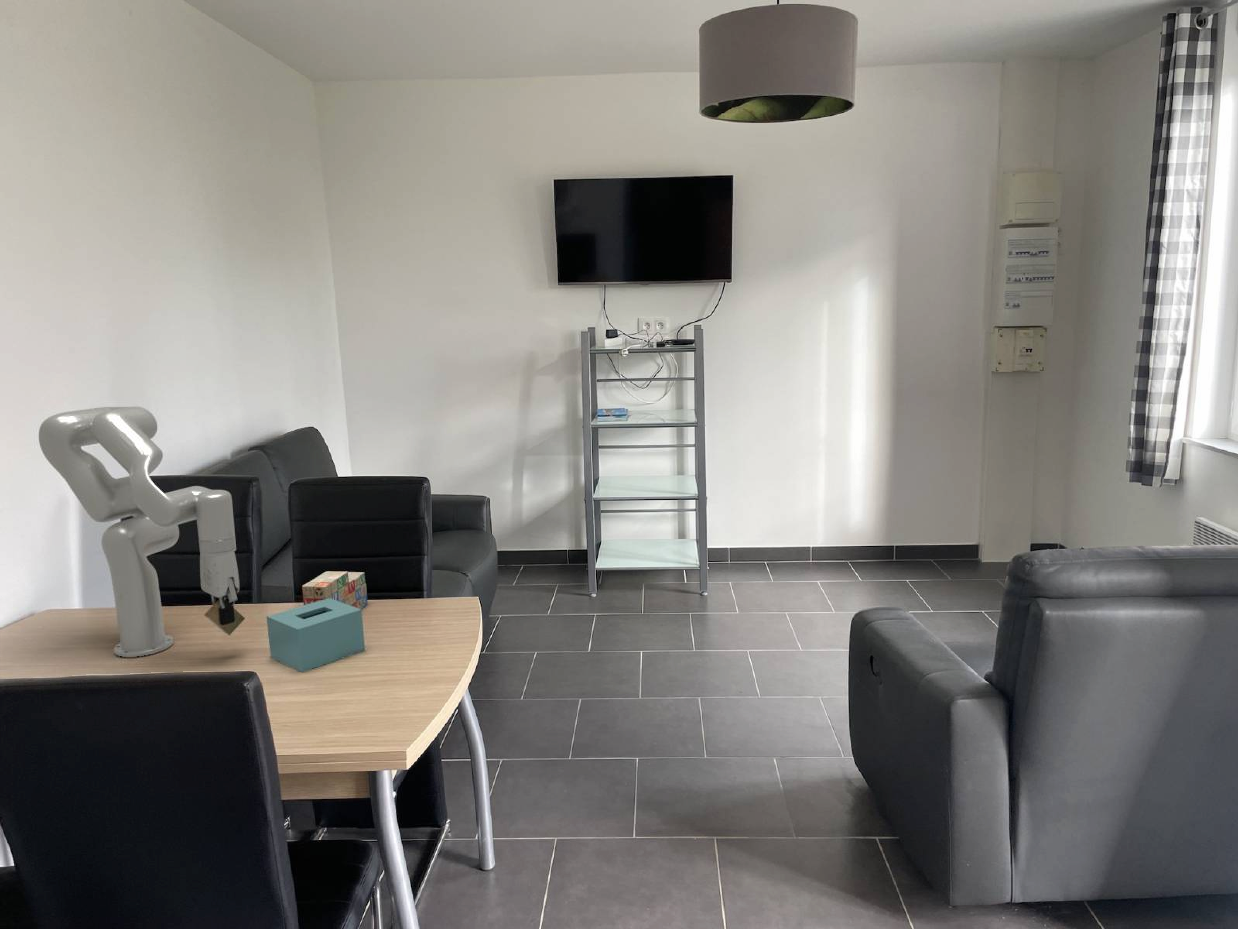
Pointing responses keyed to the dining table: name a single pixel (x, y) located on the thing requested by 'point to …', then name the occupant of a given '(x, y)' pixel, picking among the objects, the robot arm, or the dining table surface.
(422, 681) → the dining table surface
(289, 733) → the dining table surface
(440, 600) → the dining table surface
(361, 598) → the stack of blocks
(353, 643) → the coin box
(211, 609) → the tan flat block
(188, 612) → the dining table surface
